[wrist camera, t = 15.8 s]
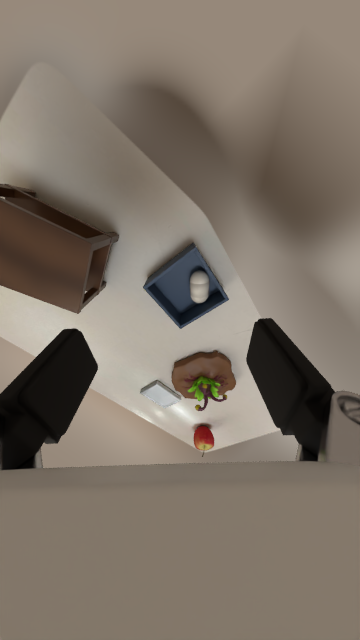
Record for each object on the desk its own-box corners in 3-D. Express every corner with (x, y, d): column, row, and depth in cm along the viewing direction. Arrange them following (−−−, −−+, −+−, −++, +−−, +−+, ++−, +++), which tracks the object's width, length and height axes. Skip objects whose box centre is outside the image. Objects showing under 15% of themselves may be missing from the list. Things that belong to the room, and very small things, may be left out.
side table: (27, 187, 28) (-60, 171, 18) (119, 234, 32) (91, 243, 22) (27, 254, 34) (-39, 271, 24) (105, 287, 37) (78, 314, 27)
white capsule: (188, 273, 32) (209, 273, 31) (190, 268, 35) (210, 267, 34) (189, 306, 35) (208, 306, 35) (191, 298, 39) (208, 298, 38)
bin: (147, 278, 36) (142, 287, 32) (193, 242, 32) (195, 246, 28) (180, 316, 42) (180, 329, 37) (223, 289, 38) (229, 299, 33)
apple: (189, 428, 73) (190, 456, 64) (202, 420, 69) (205, 449, 61) (202, 433, 75) (205, 461, 67) (216, 426, 72) (220, 454, 63)
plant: (162, 361, 50) (158, 394, 41) (226, 345, 47) (238, 378, 37) (183, 397, 60) (183, 431, 51) (236, 386, 57) (248, 421, 47)
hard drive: (139, 393, 56) (164, 409, 61) (156, 383, 53) (181, 401, 59) (140, 389, 58) (164, 404, 63) (157, 379, 55) (181, 396, 60)
